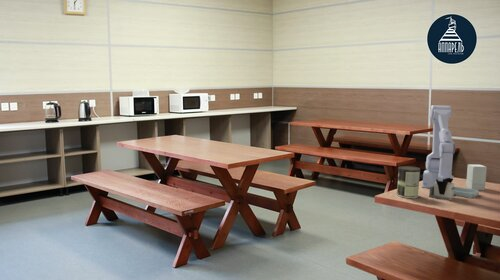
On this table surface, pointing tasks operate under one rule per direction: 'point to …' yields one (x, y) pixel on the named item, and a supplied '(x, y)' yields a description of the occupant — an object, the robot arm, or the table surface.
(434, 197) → the dock
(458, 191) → the tray
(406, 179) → the coffee can
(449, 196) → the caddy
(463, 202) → the table surface
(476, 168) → the supplement box
